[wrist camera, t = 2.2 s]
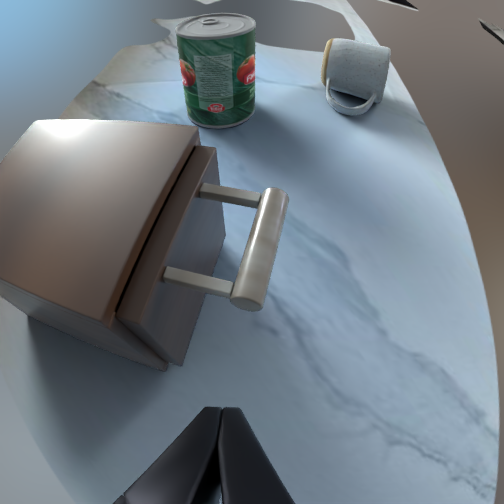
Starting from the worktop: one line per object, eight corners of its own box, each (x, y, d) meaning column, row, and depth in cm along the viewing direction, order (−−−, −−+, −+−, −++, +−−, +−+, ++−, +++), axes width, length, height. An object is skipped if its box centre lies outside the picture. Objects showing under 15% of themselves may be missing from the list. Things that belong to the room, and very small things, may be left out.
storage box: (214, 232, 26) (198, 125, 17) (165, 372, 20) (100, 322, 11) (82, 205, 28) (35, 120, 19) (26, 314, 22) (-56, 249, 13)
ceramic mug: (325, 72, 40) (332, 26, 34) (381, 87, 39) (393, 42, 32) (310, 109, 35) (318, 53, 29) (378, 127, 34) (394, 73, 27)
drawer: (284, 247, 24) (297, 160, 17) (250, 385, 19) (249, 356, 12) (93, 208, 26) (54, 133, 19) (40, 312, 21) (-28, 256, 14)
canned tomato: (267, 116, 34) (271, 27, 25) (201, 137, 32) (189, 43, 23) (236, 86, 38) (234, 9, 28) (178, 103, 36) (165, 23, 26)
